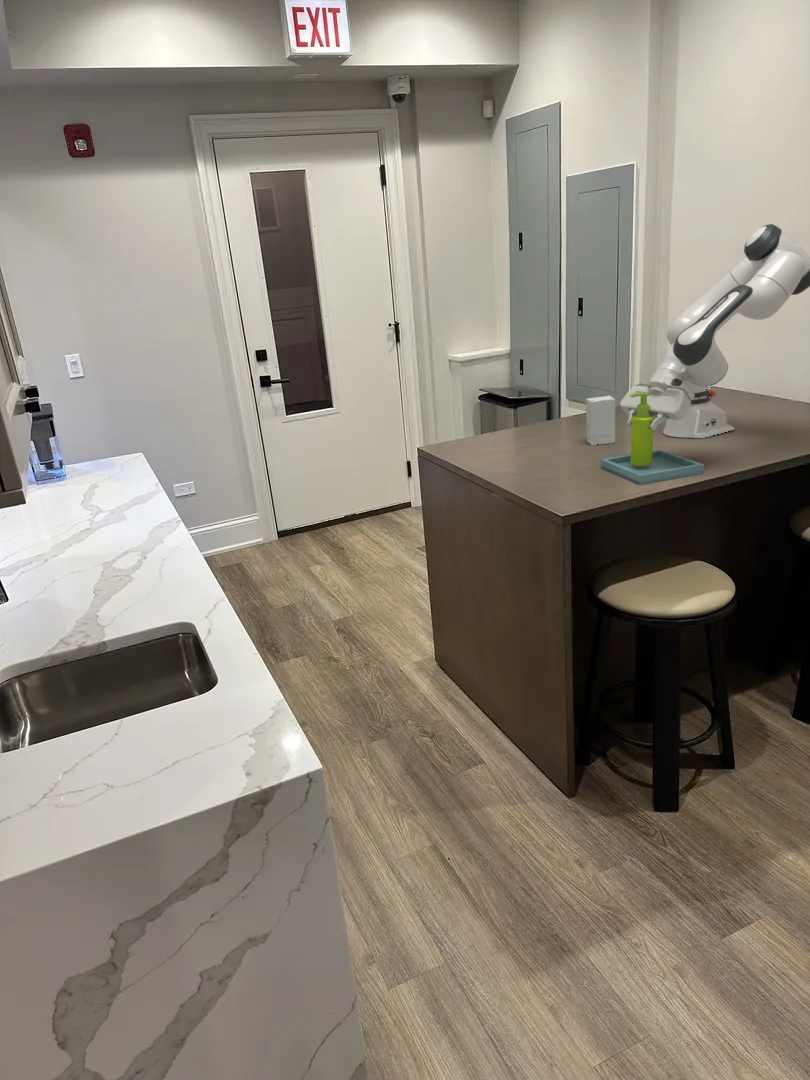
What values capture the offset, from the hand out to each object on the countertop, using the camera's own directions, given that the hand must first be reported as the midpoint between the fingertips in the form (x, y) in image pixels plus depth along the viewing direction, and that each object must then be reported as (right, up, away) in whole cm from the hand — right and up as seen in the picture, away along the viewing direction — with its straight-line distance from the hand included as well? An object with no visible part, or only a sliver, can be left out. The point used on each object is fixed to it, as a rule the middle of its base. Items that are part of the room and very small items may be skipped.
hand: (640, 426), depth 206 cm
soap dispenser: (+1, -10, +4) cm, 11 cm away
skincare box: (-1, 0, +37) cm, 37 cm away
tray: (+4, -12, +3) cm, 13 cm away
